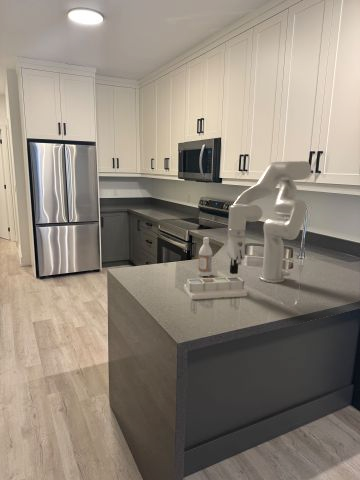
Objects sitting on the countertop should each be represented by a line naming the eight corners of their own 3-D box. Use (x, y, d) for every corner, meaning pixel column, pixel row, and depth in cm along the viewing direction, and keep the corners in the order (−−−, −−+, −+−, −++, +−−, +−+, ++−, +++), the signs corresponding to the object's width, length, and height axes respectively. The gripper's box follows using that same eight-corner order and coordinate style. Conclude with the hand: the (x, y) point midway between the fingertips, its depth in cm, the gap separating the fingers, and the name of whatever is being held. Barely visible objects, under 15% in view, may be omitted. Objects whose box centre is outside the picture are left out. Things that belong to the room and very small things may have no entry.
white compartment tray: (234, 285, 156) (235, 274, 155) (246, 296, 143) (247, 283, 142) (184, 288, 151) (184, 276, 150) (191, 299, 138) (192, 286, 137)
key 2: (224, 282, 150) (224, 279, 149) (227, 285, 145) (227, 282, 145) (215, 283, 149) (215, 279, 148) (218, 286, 145) (218, 282, 144)
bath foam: (196, 275, 171) (197, 238, 167) (201, 272, 177) (203, 236, 173) (208, 277, 168) (209, 239, 164) (213, 274, 173) (215, 237, 170)
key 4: (199, 284, 147) (199, 280, 147) (201, 287, 143) (201, 283, 143) (189, 284, 146) (189, 280, 146) (192, 287, 142) (192, 283, 142)
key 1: (236, 282, 151) (236, 278, 151) (240, 285, 147) (240, 281, 146) (227, 282, 150) (227, 278, 150) (231, 285, 146) (231, 281, 145)
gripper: (251, 236, 137) (248, 278, 141) (237, 230, 152) (235, 268, 155) (234, 236, 136) (231, 278, 139) (222, 230, 150) (220, 269, 153)
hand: (233, 273), depth 147 cm, fingers closed
